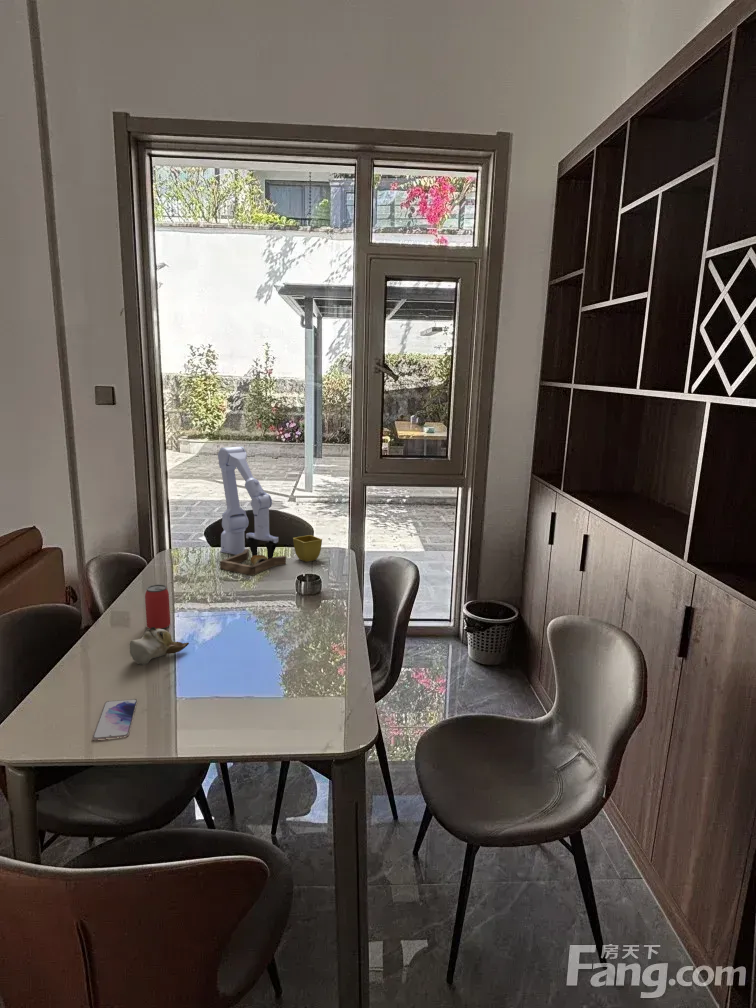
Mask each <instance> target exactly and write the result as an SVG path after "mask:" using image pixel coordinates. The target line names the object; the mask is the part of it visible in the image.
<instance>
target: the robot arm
mask: <svg viewBox="0 0 756 1008" xmlns="http://www.w3.org/2000/svg"><path fill="white" fill-rule="evenodd" d="M247 459H248V454H247V452H246V449H245V447H243V446H242V445H240V446H233V447H232V446H230V447H221V448H220V449H219V451H218V453H217V460H218V467H219V469H221V476H222V477H221V478H222V483H223V489H224V490H223V491H224V496H225V502H226V503H225V504H226V510H225V511H224V512H223V513H222V514H221V518H222V519H221V527H222V528H223V531H222V532H221V533H220V550H219V552H220V553H225V554H231V555H234V556H235V555H237V554H240V553H243V551H244V550H245V549H246V547H245V546H246V543H247V545H248V547H249V550H250V552H251V555H252V556H254V555H258V546H259V541H262V542H263V541H264V542H266V543H265V544H264V545H265V547H266V552H267V558H268V559H270V558H272V557H274V553H275V551H276V548H277V546H278V544H279V536H274V535H271V534H270V510H269V509H270V508H271V507H272V505H273V501H272V497H271V495H270V494H269V493H267V492H266V491H264V489H263V486H262V485H261V483H260V481H259V479H257V478H255V477H254V476H253V472H252V471H251V469H250V467H249V464H248V462H247ZM236 469H237V471H238V472H239V474H240V475H241V477H242V479H243V480H244V481H245V482H244V488H245V489H246V491H247V493H248V495H249V497H250V499H251V500H250V507H251V508H252V513H253V518H254V520H253V521H254V532H247V533H245V531H247V528H248V526H249V518H248V516H247V512H246V510H245V509H243V508H242V507H241V506H240V497H239V493H238V492H239V490H238V485H237V478H236V472H235V470H236ZM245 538H246V542H245ZM252 556H251V557H252Z"/></svg>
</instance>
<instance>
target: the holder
mask: <svg viewBox="0 0 756 1008" xmlns="http://www.w3.org/2000/svg"><path fill="white" fill-rule="evenodd" d="M249 557H250V548H245V550H244V551H243V553H240V554H237V555H235V554H234V555H233V556H229V557H227V558H224V559H222V560H220V561H219V569H221V570H225V571H230V572H235V573H240V574H245V575H249V576H254V575H257V574H259V573H262V572H264V571H267V570H268V569H270V568H273V567H275V566H283V565H286V564H287V561H286V560H287V557H286V556H285V555H280V556H273V557H272V558H270V559H267V560H265V561H262V562H260V563H258V564H255V565H248V564H245V563H243V562H245V561H247V560H248V558H249Z"/></svg>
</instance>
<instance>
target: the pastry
mask: <svg viewBox="0 0 756 1008" xmlns="http://www.w3.org/2000/svg"><path fill="white" fill-rule="evenodd" d="M267 559H268V556H266V555H263V554H257V555H254V556H251V557H250V564H251V566H253V565H255V564H258V563H260V562H262V561H265V560H267Z"/></svg>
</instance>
